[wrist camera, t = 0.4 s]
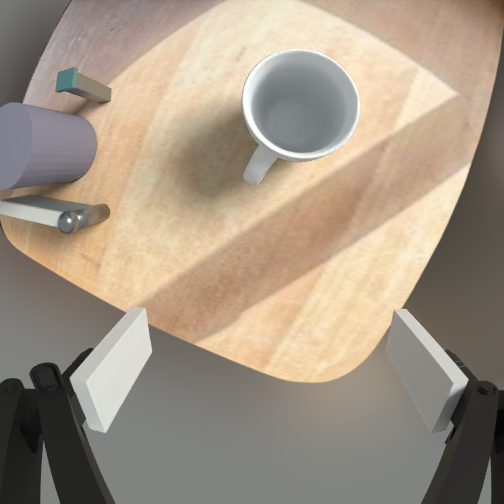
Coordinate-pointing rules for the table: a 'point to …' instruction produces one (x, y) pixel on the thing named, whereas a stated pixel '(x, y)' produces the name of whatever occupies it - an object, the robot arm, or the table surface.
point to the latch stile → (82, 86)
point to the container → (43, 146)
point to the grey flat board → (38, 208)
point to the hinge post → (82, 218)
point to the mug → (297, 109)
